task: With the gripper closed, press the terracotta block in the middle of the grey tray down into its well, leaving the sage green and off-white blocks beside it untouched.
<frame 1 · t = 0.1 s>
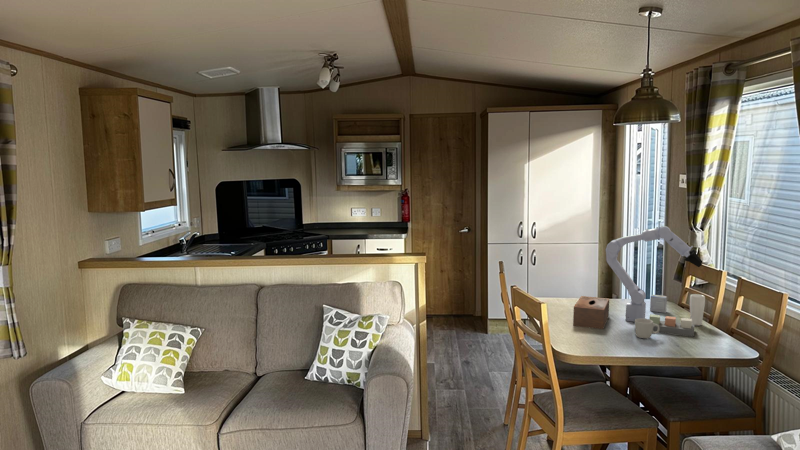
hand: (700, 264, 279), 32 cm above the table, tool tilted 50°, fingers open, 7 cm apart
white block: (686, 323, 274), point 5 cm above the table, slide at 0.0 cm
grey tray: (669, 330, 278), on the table
cup: (646, 337, 267), on the table
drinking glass: (696, 324, 288), on the table
terracotta block: (670, 321, 277), point 5 cm above the table, slide at 0.0 cm
tissue box cover: (591, 321, 296), on the table
sage block: (654, 319, 281), point 5 cm above the table, slide at 0.0 cm
medicine box: (658, 311, 314), on the table
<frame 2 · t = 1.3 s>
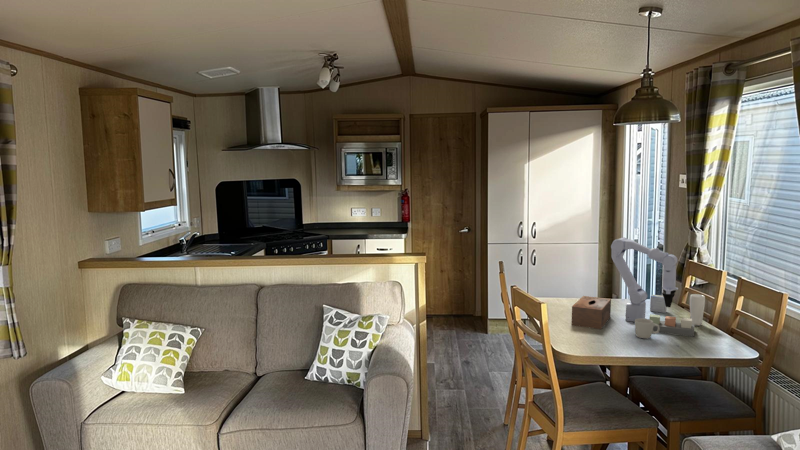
hand: (668, 305, 285), 10 cm above the table, tool pointing down, fingers open, 6 cm apart
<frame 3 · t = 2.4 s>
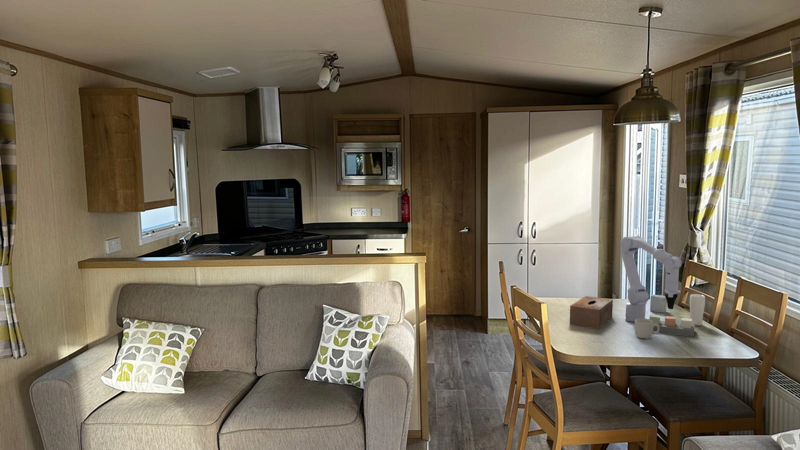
hand: (670, 308, 279), 10 cm above the table, tool pointing down, fingers closed
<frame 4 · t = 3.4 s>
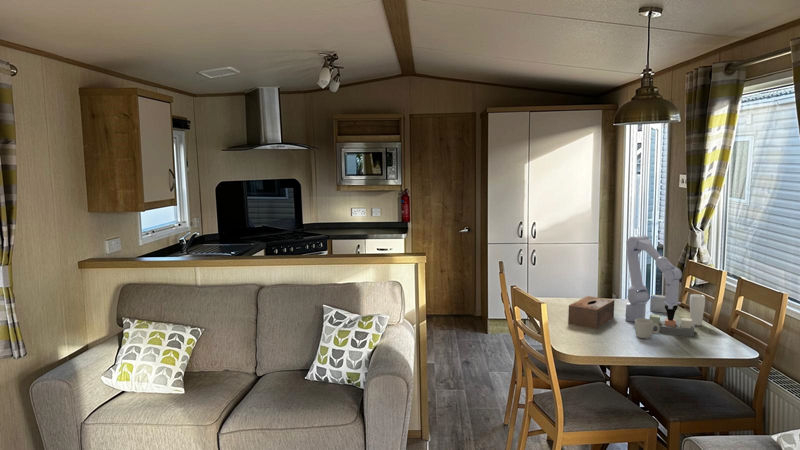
hand: (670, 320, 277), 5 cm above the table, tool pointing down, fingers closed, pressing on terracotta block
terracotta block: (670, 324, 278), point 3 cm above the table, slide at 1.2 cm, touching gripper
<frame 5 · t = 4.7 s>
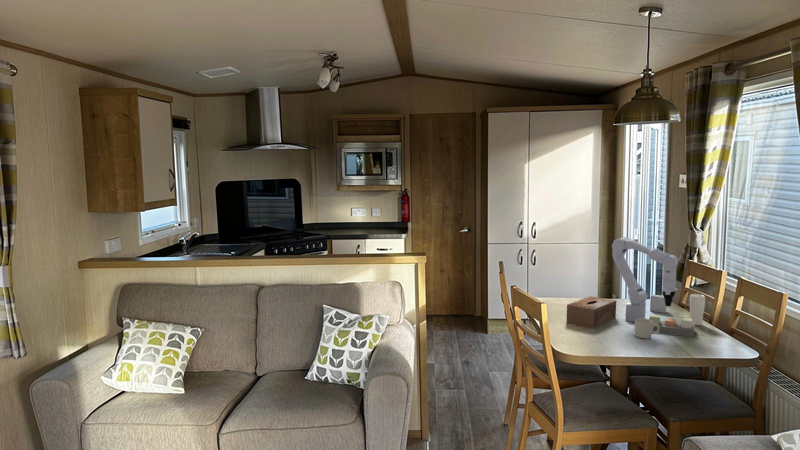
hand: (668, 306, 285), 10 cm above the table, tool pointing down, fingers closed
terracotta block: (670, 324, 278), point 3 cm above the table, slide at 1.2 cm
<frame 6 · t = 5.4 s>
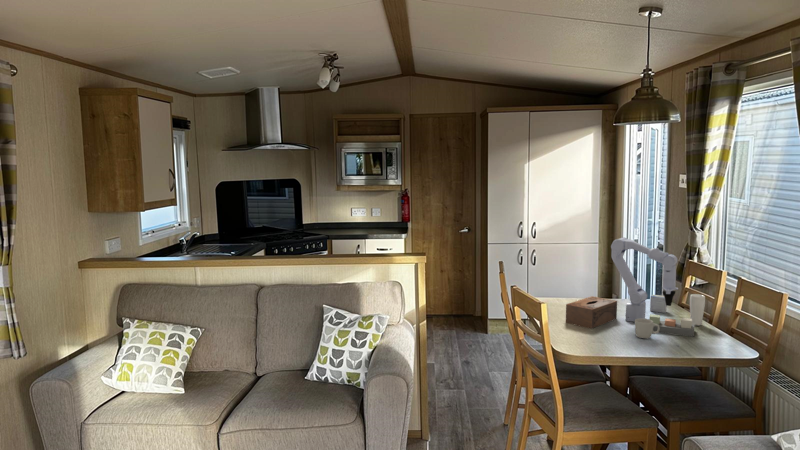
hand: (668, 305, 285), 10 cm above the table, tool pointing down, fingers closed
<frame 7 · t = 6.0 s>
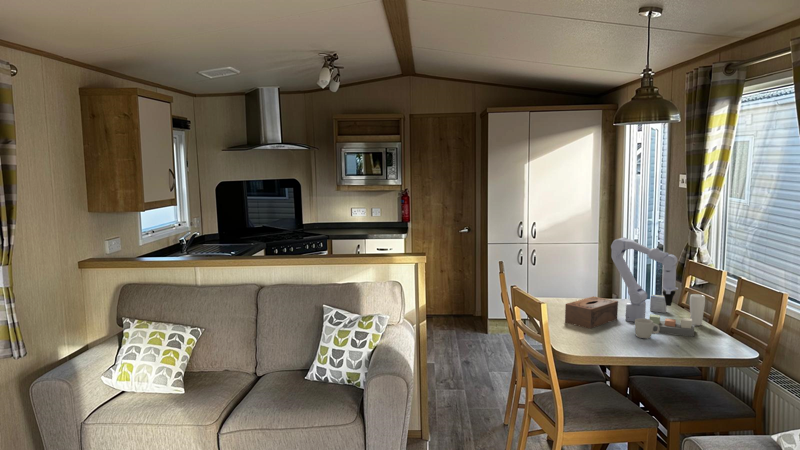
hand: (668, 305, 285), 10 cm above the table, tool pointing down, fingers closed
at the end: terracotta block slide at 1.2 cm; sage block slide at 0.0 cm; white block slide at 0.0 cm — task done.
